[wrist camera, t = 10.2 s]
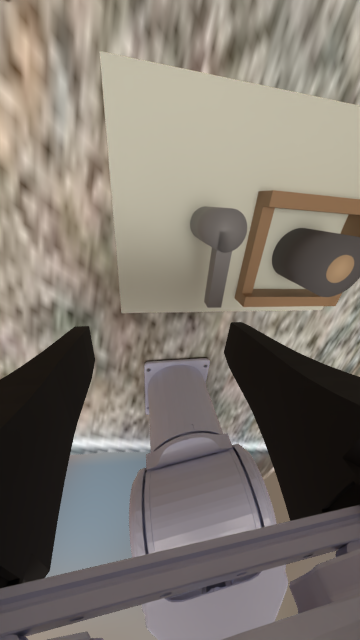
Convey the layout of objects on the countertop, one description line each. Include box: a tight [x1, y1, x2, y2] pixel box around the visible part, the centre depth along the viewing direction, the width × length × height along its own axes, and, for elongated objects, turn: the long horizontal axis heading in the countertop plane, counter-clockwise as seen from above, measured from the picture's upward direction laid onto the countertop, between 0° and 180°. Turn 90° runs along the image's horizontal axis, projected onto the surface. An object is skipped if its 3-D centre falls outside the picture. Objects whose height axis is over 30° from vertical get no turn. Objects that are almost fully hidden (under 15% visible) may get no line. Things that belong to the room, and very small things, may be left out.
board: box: [100, 51, 360, 313], centre depth 15 cm, size 16×22×6 cm
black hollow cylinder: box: [272, 228, 360, 297], centre depth 16 cm, size 4×4×5 cm
